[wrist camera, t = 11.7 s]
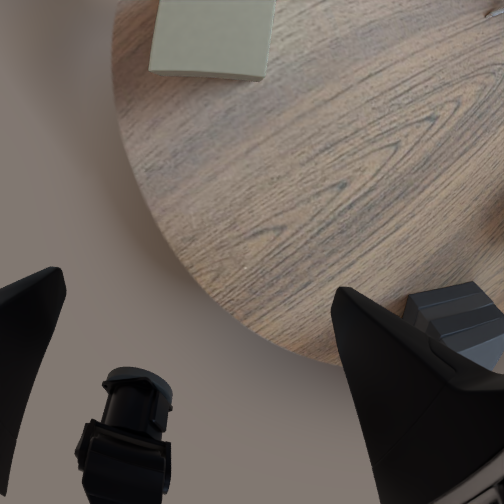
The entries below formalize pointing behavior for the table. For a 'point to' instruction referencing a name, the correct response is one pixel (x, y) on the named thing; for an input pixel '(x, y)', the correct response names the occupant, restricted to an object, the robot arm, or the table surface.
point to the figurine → (495, 12)
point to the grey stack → (460, 321)
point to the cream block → (212, 38)
